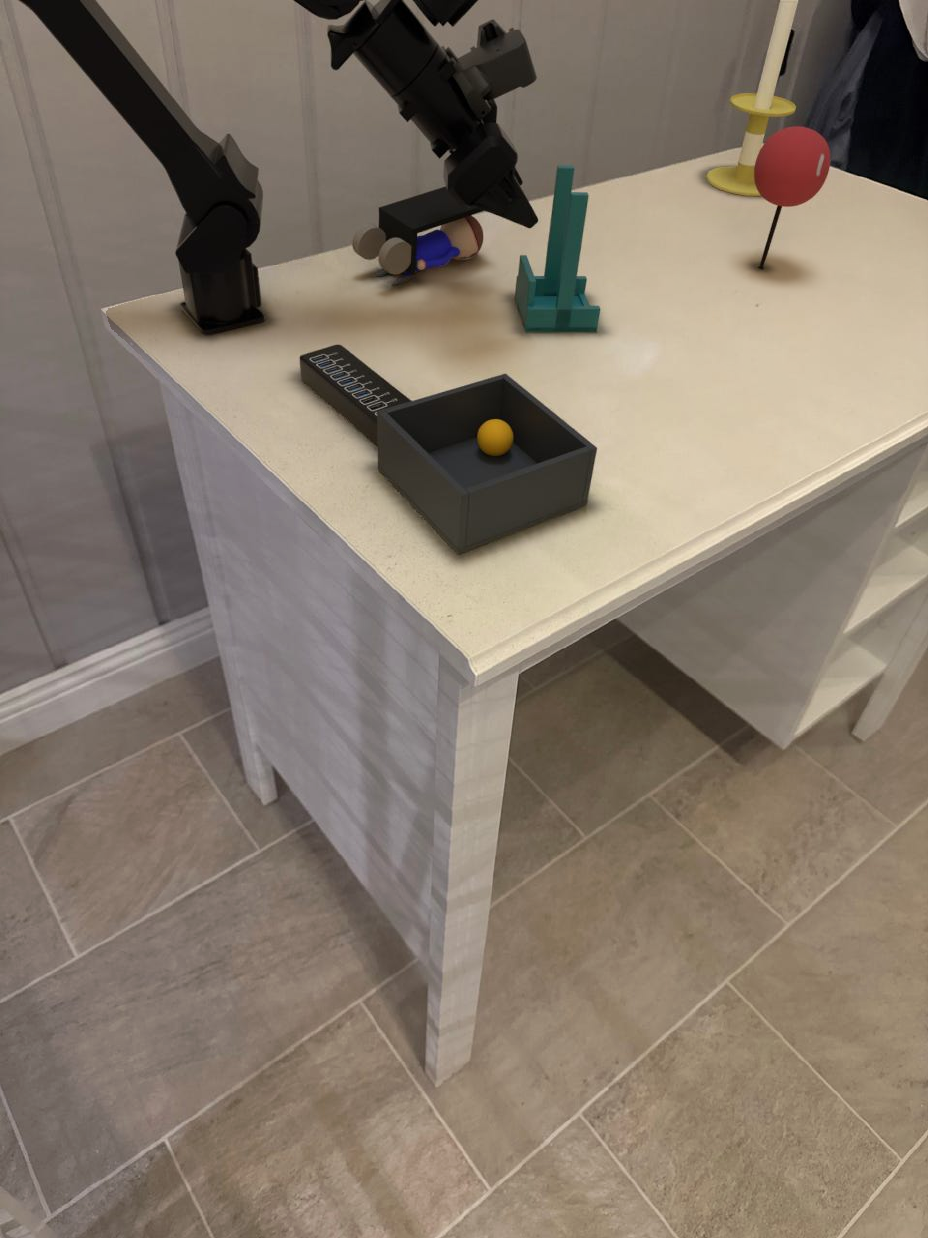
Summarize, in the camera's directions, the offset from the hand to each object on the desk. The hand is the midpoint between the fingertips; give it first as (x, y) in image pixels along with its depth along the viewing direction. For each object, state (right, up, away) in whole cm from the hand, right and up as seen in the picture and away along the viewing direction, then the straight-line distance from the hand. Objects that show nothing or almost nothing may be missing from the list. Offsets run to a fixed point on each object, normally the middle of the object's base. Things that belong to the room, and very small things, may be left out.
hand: (526, 204), depth 87 cm
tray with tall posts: (+3, -8, +8) cm, 12 cm away
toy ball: (-3, -24, -12) cm, 27 cm away
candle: (+32, +20, +39) cm, 55 cm away
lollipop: (+29, +1, +19) cm, 35 cm away
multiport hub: (-15, -21, -6) cm, 26 cm away
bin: (-5, -29, -13) cm, 32 cm away
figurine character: (-10, -1, +14) cm, 18 cm away
